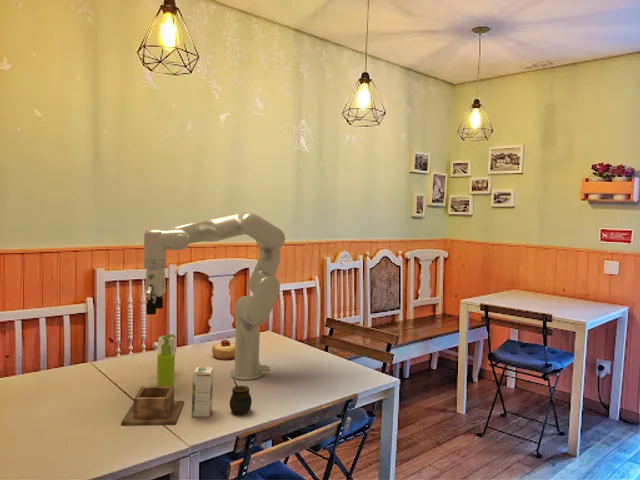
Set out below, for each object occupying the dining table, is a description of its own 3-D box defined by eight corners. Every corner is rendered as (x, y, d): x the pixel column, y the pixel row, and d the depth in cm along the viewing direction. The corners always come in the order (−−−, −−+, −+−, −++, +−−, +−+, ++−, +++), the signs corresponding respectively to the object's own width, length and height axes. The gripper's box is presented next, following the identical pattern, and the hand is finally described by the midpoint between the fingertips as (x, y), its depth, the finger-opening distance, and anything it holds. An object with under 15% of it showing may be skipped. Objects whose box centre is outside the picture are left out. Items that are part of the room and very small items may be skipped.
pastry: (206, 359, 216) (206, 339, 216) (221, 351, 227) (221, 332, 227) (230, 362, 212) (229, 342, 211) (244, 354, 223) (244, 335, 222)
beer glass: (178, 372, 197) (179, 335, 196) (171, 378, 190) (172, 340, 189) (161, 371, 197) (162, 334, 196) (154, 377, 190) (154, 339, 189)
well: (183, 403, 167) (184, 383, 166) (175, 424, 151) (176, 402, 151) (134, 403, 165) (135, 383, 165) (121, 425, 149) (121, 402, 149)
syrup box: (194, 409, 162) (195, 366, 161) (212, 409, 163) (213, 366, 162) (191, 417, 157) (192, 372, 156) (210, 417, 157) (211, 372, 156)
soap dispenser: (179, 388, 180) (180, 334, 179) (167, 395, 174) (168, 339, 172) (165, 385, 182) (166, 332, 181) (153, 392, 176) (154, 337, 174)
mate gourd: (241, 418, 157) (242, 387, 157) (223, 412, 161) (224, 382, 161) (256, 410, 163) (256, 381, 163) (238, 405, 167) (239, 376, 167)
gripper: (159, 267, 168) (159, 317, 169) (171, 261, 185) (170, 306, 187) (137, 266, 168) (137, 316, 169) (150, 260, 185) (150, 306, 186)
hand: (154, 311), depth 178 cm, fingers open, 9 cm apart
